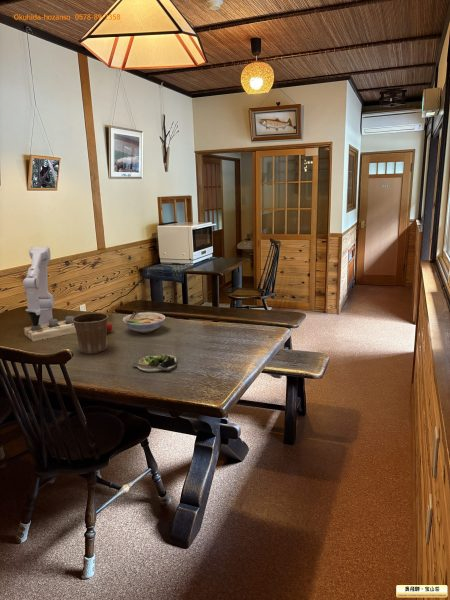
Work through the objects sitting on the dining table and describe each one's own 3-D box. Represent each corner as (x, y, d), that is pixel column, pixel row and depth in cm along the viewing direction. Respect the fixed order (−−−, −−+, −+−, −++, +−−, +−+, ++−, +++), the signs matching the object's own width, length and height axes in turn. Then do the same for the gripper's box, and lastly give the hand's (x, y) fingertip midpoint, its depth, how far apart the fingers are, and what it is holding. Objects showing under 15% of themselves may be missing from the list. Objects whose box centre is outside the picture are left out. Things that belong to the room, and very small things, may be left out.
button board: (24, 334, 230) (23, 327, 229) (74, 324, 247) (73, 318, 246) (33, 341, 219) (32, 334, 218) (85, 330, 236) (84, 323, 235)
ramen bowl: (162, 338, 224) (161, 323, 222) (118, 338, 224) (117, 322, 222) (169, 324, 248) (168, 310, 246) (129, 324, 248) (128, 310, 246)
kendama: (88, 344, 219) (116, 331, 232) (84, 332, 218) (113, 319, 231) (80, 343, 224) (108, 330, 237) (76, 332, 223) (105, 319, 236)
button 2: (48, 327, 234) (47, 319, 233) (56, 326, 237) (55, 318, 236) (51, 329, 231) (50, 321, 230) (59, 328, 233) (58, 320, 232)
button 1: (31, 333, 229) (30, 325, 228) (39, 331, 231) (38, 323, 230) (33, 335, 225) (32, 327, 224) (42, 333, 228) (41, 325, 227)
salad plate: (129, 375, 179) (128, 365, 178) (134, 359, 196) (133, 350, 195) (176, 373, 180) (176, 363, 179) (177, 358, 198) (176, 348, 197)
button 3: (64, 324, 240) (64, 316, 239) (72, 323, 242) (72, 315, 241) (67, 326, 236) (67, 318, 235) (75, 324, 239) (75, 317, 238)
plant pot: (73, 357, 198) (70, 323, 194) (75, 345, 213) (73, 314, 209) (110, 354, 202) (108, 320, 198) (110, 342, 217) (107, 311, 213)
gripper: (20, 299, 227) (23, 323, 230) (29, 304, 216) (32, 330, 219) (34, 297, 231) (37, 321, 235) (43, 302, 221) (46, 327, 224)
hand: (35, 325), depth 227 cm, fingers closed, pressing on button 1
